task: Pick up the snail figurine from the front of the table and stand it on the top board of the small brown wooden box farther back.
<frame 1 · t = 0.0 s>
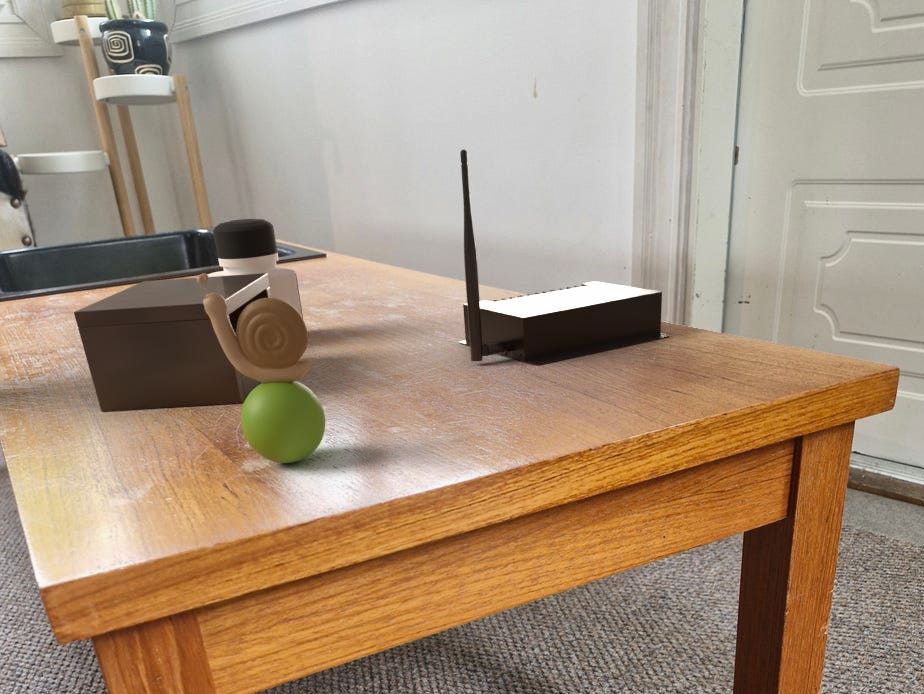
snail figurine: (283, 464, 60), on the table
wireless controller: (546, 344, 87), on the table
medicine bottle: (264, 344, 97), on the table
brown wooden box: (199, 383, 82), on the table
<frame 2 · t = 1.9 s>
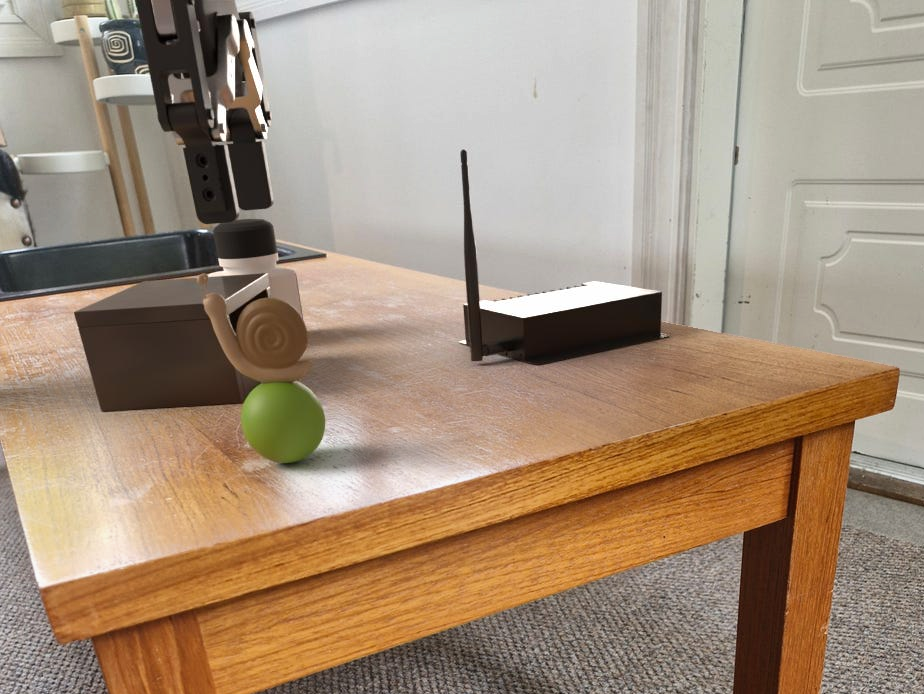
hand: (239, 215, 53), 15 cm above the table, tool pointing down, fingers open, 8 cm apart
nothing on the table moved.
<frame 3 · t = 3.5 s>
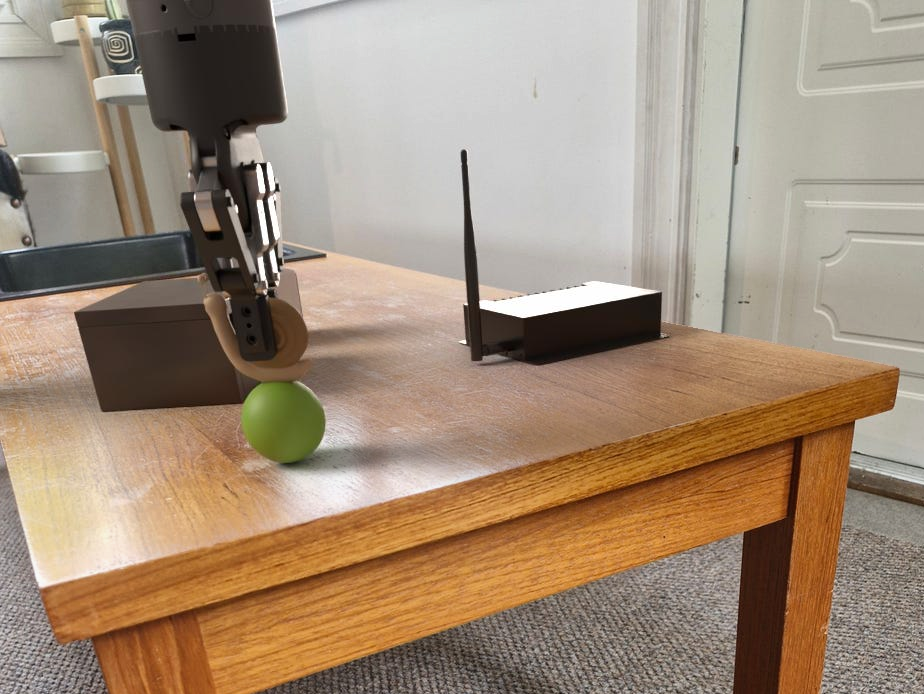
hand: (264, 354, 57), 7 cm above the table, tool pointing down, fingers closed on snail figurine
snail figurine: (284, 464, 60), on the table, touching gripper
everything else where it was.
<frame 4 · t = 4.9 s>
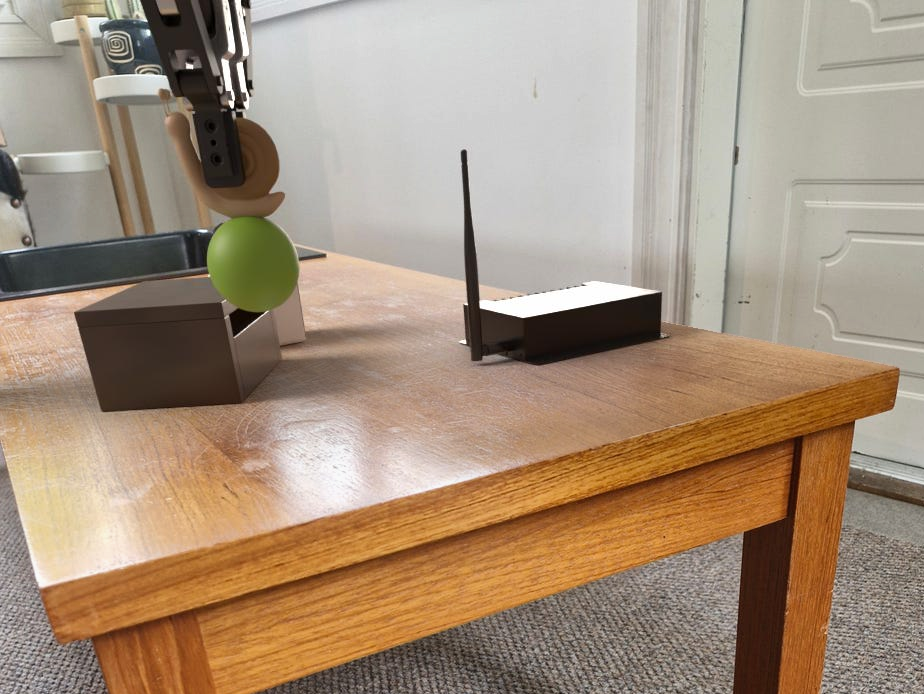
hand: (231, 184, 52), 17 cm above the table, tool pointing down, fingers closed on snail figurine
snail figurine: (254, 315, 56), point 9 cm above the table, touching gripper
everything else where it was.
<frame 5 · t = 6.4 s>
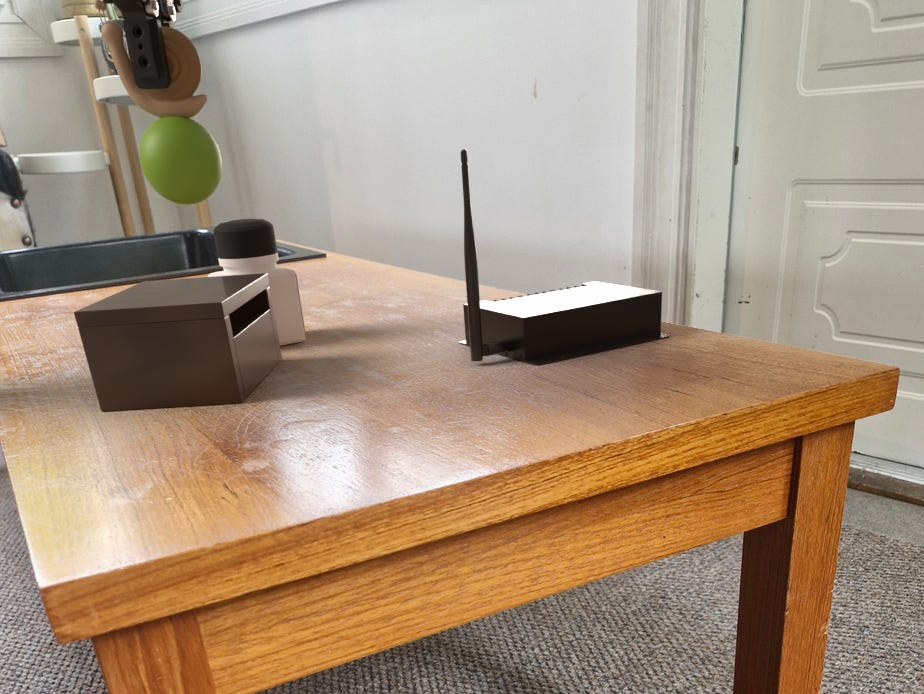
hand: (160, 87, 60), 22 cm above the table, tool pointing down, fingers closed on snail figurine
snail figurine: (183, 207, 63), point 15 cm above the table, touching gripper
everything else where it was.
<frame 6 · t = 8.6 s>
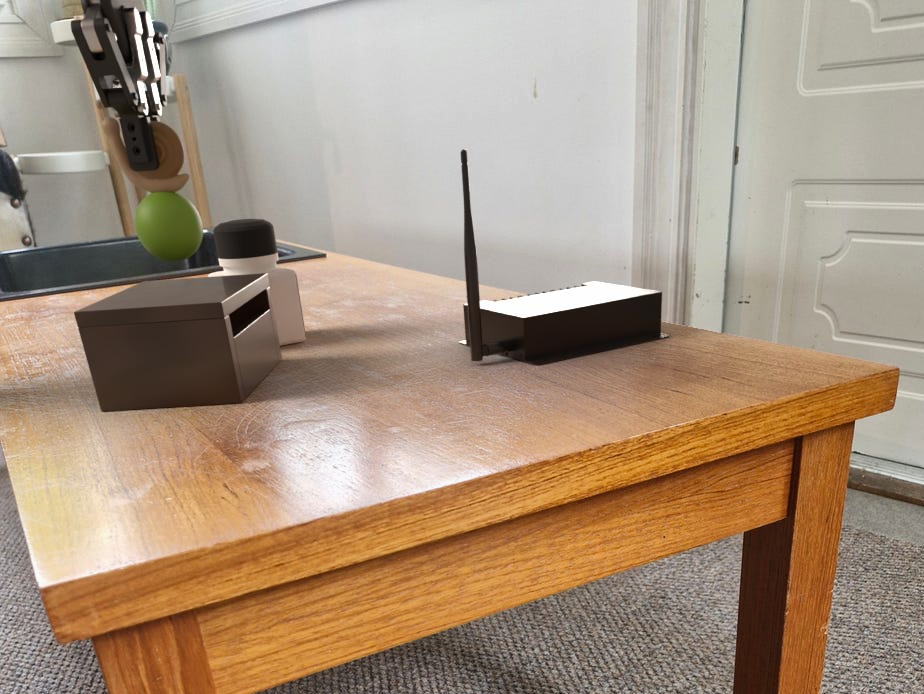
hand: (150, 169, 73), 17 cm above the table, tool pointing down, fingers closed on snail figurine
snail figurine: (171, 264, 77), point 10 cm above the table, touching gripper
everything else where it was.
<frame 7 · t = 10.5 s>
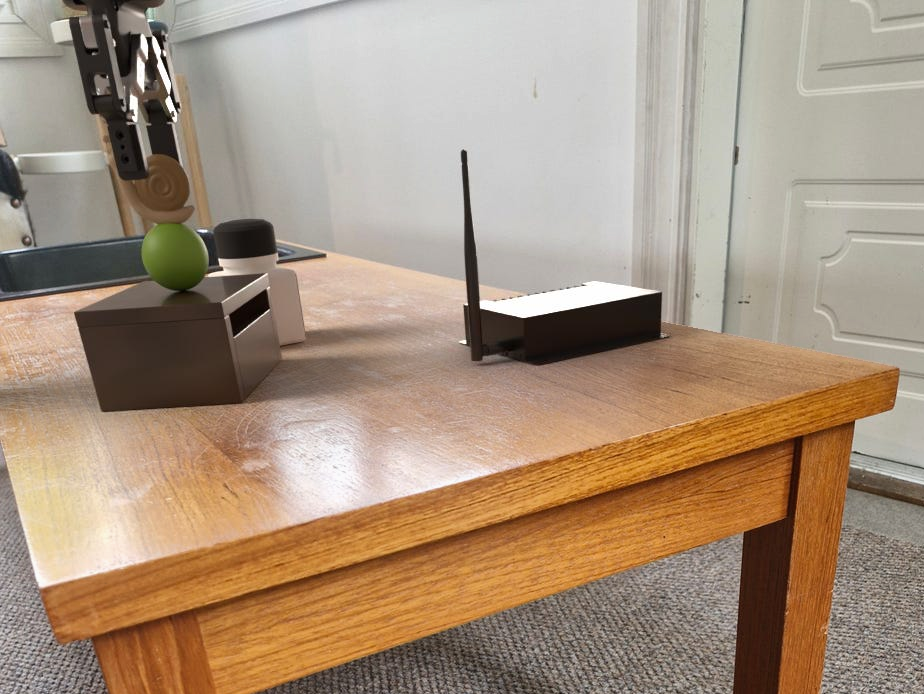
hand: (153, 176, 73), 17 cm above the table, tool pointing down, fingers open, 8 cm apart
snail figurine: (177, 293, 78), point 8 cm above the table, touching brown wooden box
everything else where it was.
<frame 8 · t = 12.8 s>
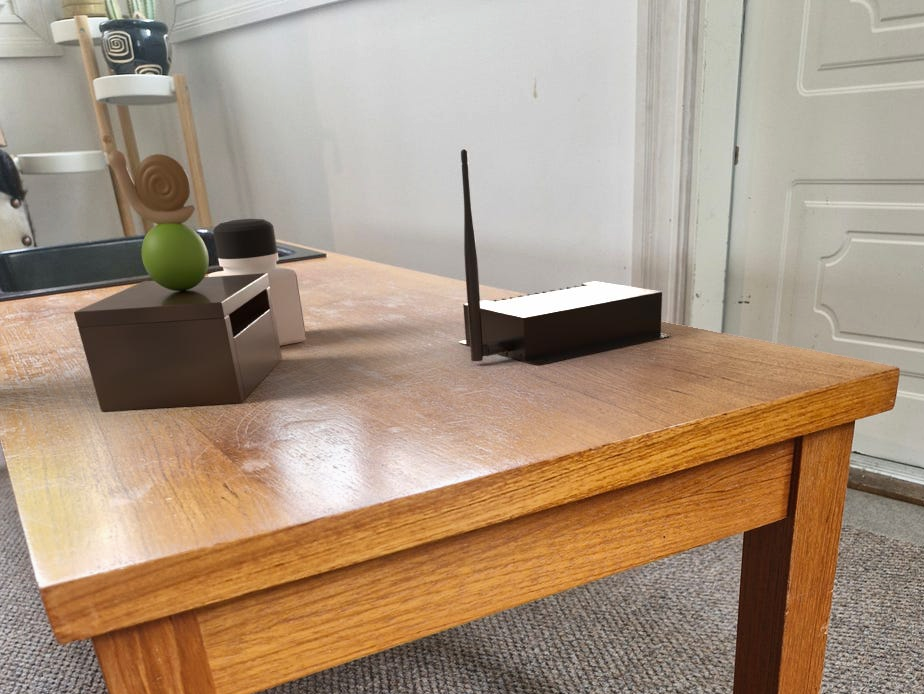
nothing on the table moved.
at the end: snail figurine inside the target area on the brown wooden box (0.1 cm from its centre), point 7.8 cm above the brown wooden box's base; snail figurine tilted 0°; the gripper is holding nothing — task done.
